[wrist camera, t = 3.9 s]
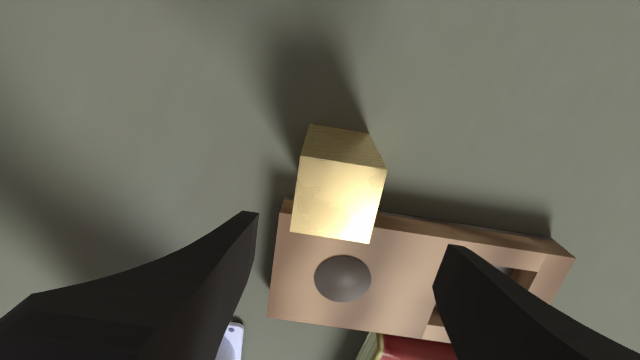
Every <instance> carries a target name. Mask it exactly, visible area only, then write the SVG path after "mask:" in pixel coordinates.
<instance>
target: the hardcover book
mask: <svg viewBox="0 0 640 360" xmlns="http://www.w3.org/2000/svg"><path fill="white" fill-rule="evenodd" d="M355 360H458V359H457V357H456V354H455V352H454V349H453V347H452V344H451V343H445V342H438V341H431V340H424V339H417V338H410V337H403V336H396V335H389V334H382V333H375V332H369V334H368V336H367V338H366V340H365V342H364V344H363V346H362V348H361V349H360V351H359V353H358V355H357V357H356V359H355Z"/></svg>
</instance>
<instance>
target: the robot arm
mask: <svg viewBox="0 0 640 360" xmlns="http://www.w3.org/2000/svg"><path fill="white" fill-rule="evenodd" d="M258 217H259V213H255V212H249V211H241V212H240V213H238V214H237V215H235V216H234V217H232V218H231V219H229V220H228V221H227V222H225V223H224V224H222V225H221V226H219V227H218V228H216V229H215V230H213V231H212V232H210V233H209V234H207V235H205V236H203V237H202V238H200V239H198V240H196V241H195V242H193V243H191V244H190V245H188V246H186V247H184V248H182V249H180V250H178V251H176V252H173V253H171V254H169V255H167V256H165V257H162V258H160V259H158V260H155V261H152V262H149V263H147V264H144V265H141V266H139V267H136V268H133V269H130V270H127V271H124V272H121V273H118V274H115V275H111V276H108V277H104V278H101V279H97V280H93V281H89V282H85V283H81V284H77V285H72V286H68V287H63V288H58V289H53V290H49V291H44V292H39V293H33V294H31V295H30V296H28V297H27V298H26V299H24V300H23V301H22V302H21V303H19V304H18V305H17V306H16V307H14V308H13V309H12V310H11V311H9V312H8V313H7V314H6V315H4V316H3V317H2V318H1V319H0V360H241V355H242V344H243V333H244V326H243V325H242V324H240V323H235V322H230V320H231V318H232V316H233V314H234V311H235V309H236V307H237V304H238V302H239V300H240V298H241V295H242V293H243V291H244V288H245V286H246V284H247V281H248V278H249V275H250V271H251V268H252V264H253V261H254V255H255V246H256V236H257V227H258ZM432 289H433V293H434V297H435V302H436V305H437V309H438V312H439V315H440V317H441V320H442V322H443V325H444V327H445V330H446V332H447V335H448V337H449V340H450V342H451V344H452V347H453V349H454V352H455V354H456V357H457V359H458V360H640V354H639V353H637V352H635V351H633V350H631V349H629V348H627V347H625V346H623V345H621V344H619V343H617V342H615V341H613V340H611V339H609V338H607V337H605V336H603V335H601V334H599V333H597V332H595V331H594V330H592V329H590V328H588V327H586V326H585V325H583V324H581V323H579V322H578V321H576V320H574V319H572V318H571V317H569V316H567V315H566V314H564V313H562V312H561V311H559V310H557V309H556V308H554V307H552V306H551V305H549V304H548V303H546V302H545V301H543V300H542V299H540V298H539V297H537V296H535V295H534V294H532V293H531V292H529V291H528V290H527V289H525V288H524V287H522V286H521V285H519V284H518V283H516V282H515V281H514V280H512V279H511V278H509V277H508V276H507V275H505V274H504V273H503V272H501V271H500V270H498V269H497V268H496V267H494V266H493V265H492V264H490V263H489V262H487V261H486V260H485V259H483V258H482V257H480V256H479V255H477V254H476V253H474V252H473V251H471V250H470V249H468V248H466V247H465V246H460V245H453V244H448V246H447V248H446V251H445V254H444V256H443V259H442V262H441V264H440V267H439V269H438V272H437V275H436V277H435V280H434V282H433V285H432Z"/></svg>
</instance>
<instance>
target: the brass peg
mask: <svg viewBox="0 0 640 360" xmlns="http://www.w3.org/2000/svg"><path fill="white" fill-rule="evenodd" d="M387 170H388V169H387V167H386V165H385V163H384V161H383V159H382V157H381V155H380V154H379V152H378V150H377V148H376V146H375V144H374V142H373V140H372V138H371V136H370V134H369V133H365V132H359V131H353V130H346V129H340V128H334V127H328V126H322V125H316V124H310V123H309V126H308V130H307V134H306V137H305V141H304V144H303V148H302V152H301V155H300V162H299V169H298V176H297V183H296V190H295V197H294V204H293V211H292V218H291V225H290V232H296V233H302V234H309V235H315V236H322V237H329V238H335V239H342V240H349V241H355V242H362V243H368V244H369V240H370V236H371V233H372V229H373V225H374V221H375V217H376V213H377V209H378V205H379V201H380V198H381V194H382V190H383V186H384V182H385V178H386V174H387Z"/></svg>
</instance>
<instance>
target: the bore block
mask: <svg viewBox="0 0 640 360" xmlns="http://www.w3.org/2000/svg"><path fill="white" fill-rule="evenodd" d="M293 204H294V198H292V197H286V196H284V200H283V203H282V206H281V209H280V212H279V220H278V228H277V236H276V244H275V252H274V260H273V268H272V276H271V284H270V292H269V300H268V308H267V316H266V317H269V318H276V319H283V320H290V321H297V322H304V323H311V324H319V325H326V326H333V327H340V328H347V329H354V330H361V331H368V332H375V333H382V334H389V335H396V336H403V337H410V338H417V339H424V340H431V341H438V342H445V343H451V342H450V340H449V337H448V335H447V332H446V330H445V327H444V325H443V322H442V320H441V317H440V315H439V312H438V309H437V305H436V302H435V297H434V293H433V289H432V285H433V282H434V280H435V277H436V275H437V272H438V269H439V267H440V264H441V262H442V259H443V256H444V254H445V251H446V248H447V246H448V244H453V245H460V246H465V247H466V248H468V249H470V250H471V251H473V252H474V253H476V254H477V255H479V256H480V257H482V258H483V259H485V260H486V261H487V262H489V263H490V264H492V265H493V266H494V267H496V268H497V269H498V270H500V271H501V272H503V273H504V274H505V275H507V276H508V277H509V278H511V279H512V280H514V281H515V282H516V283H518V284H519V285H521V286H522V287H524V288H525V289H527V290H528V291H529V292H531V293H532V294H534V295H535V296H537V297H539V298H540V299H542V300H543V301H545V302H546V303H548V304H549V305H550V304H551V302H552V300H553V298H554V296H555V295H556V293H557V291H558V289H559V288H560V286H561V284H562V282H563V281H564V279H565V277H566V275H567V274H568V272H569V270H570V268H571V267H572V265H573V263H574V261H575V259H576V258H575V257H574V256H573V255H571V254H570V253H569V252H568V251H567V250H565V249H564V248H563V247H562V246H561V245H559V244H558V243H557V242H556V241H555V240H553V239H552V238H549V237H542V236H536V235H530V234H523V233H517V232H510V231H504V230H497V229H491V228H485V227H478V226H472V225H465V224H459V223H453V222H446V221H440V220H433V219H427V218H421V217H414V216H408V215H401V214H395V213H389V212H382V211H377V213H376V217H375V221H374V225H373V229H372V233H371V236H370V240H369V244H368V243H362V242H355V241H349V240H342V239H335V238H329V237H322V236H315V235H309V234H302V233H296V232H290V225H291V218H292V211H293Z"/></svg>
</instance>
